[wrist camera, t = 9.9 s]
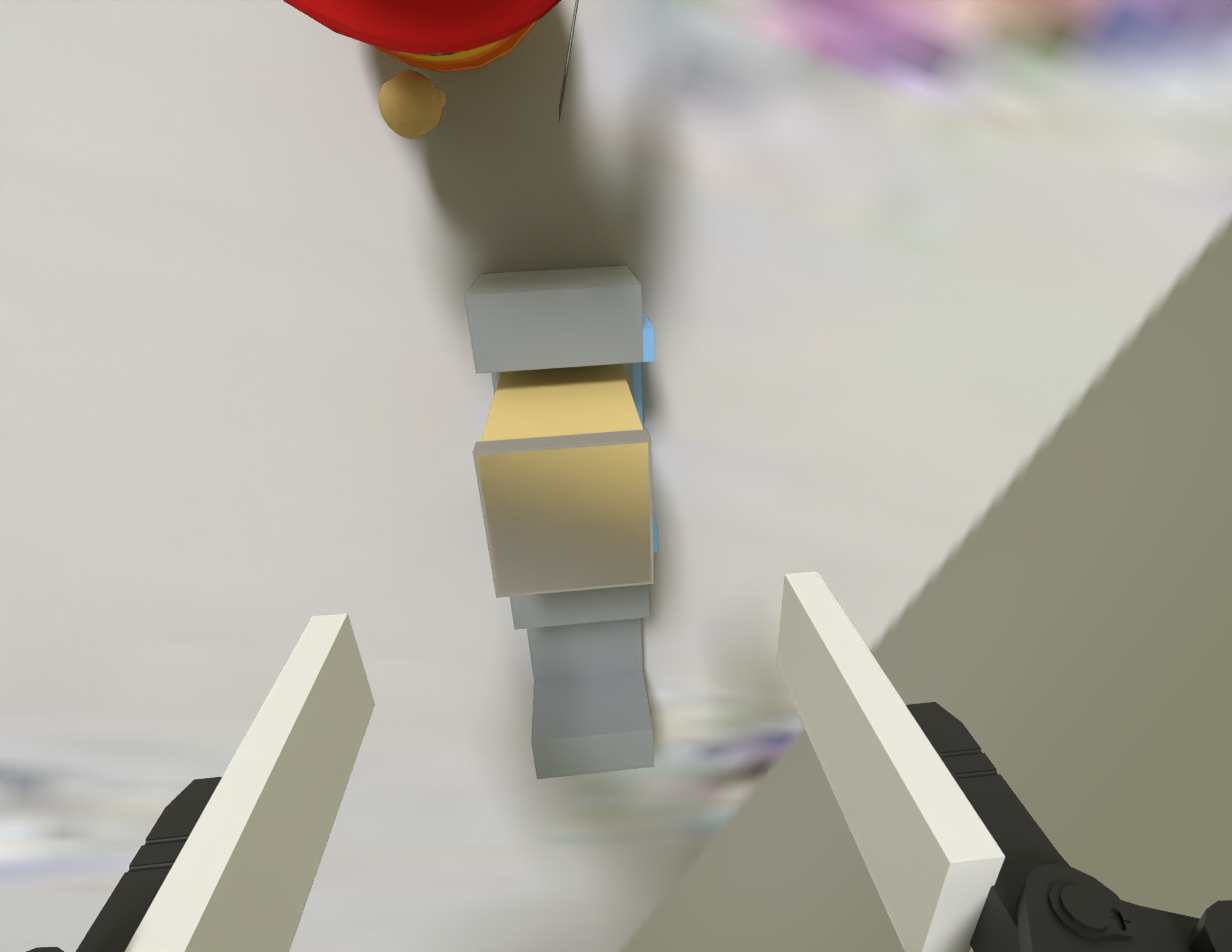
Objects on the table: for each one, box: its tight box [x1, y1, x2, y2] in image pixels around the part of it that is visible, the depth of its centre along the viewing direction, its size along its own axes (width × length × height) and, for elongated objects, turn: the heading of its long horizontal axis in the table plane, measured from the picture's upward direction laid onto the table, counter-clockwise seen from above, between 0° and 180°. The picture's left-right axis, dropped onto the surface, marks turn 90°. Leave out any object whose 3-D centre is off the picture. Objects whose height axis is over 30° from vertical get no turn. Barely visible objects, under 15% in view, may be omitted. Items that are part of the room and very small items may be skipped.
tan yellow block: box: [473, 364, 654, 598], centre depth 23 cm, size 5×5×9 cm
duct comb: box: [465, 265, 658, 779], centre depth 28 cm, size 6×24×5 cm, turn 3°
